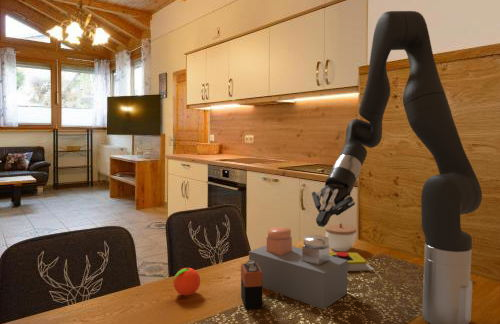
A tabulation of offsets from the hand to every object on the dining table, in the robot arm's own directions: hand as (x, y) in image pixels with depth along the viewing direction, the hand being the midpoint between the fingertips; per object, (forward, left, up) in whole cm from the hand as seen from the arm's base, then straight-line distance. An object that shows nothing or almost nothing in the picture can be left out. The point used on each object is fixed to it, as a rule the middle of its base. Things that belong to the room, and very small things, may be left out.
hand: (320, 224), depth 98 cm
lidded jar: (+14, -37, -18) cm, 44 cm away
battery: (+9, +17, -18) cm, 27 cm away
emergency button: (+4, -23, -19) cm, 30 cm away
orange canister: (+12, +2, -12) cm, 17 cm away
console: (+6, +2, -18) cm, 19 cm away
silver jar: (0, +2, -12) cm, 12 cm away
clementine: (+25, +25, -18) cm, 40 cm away
